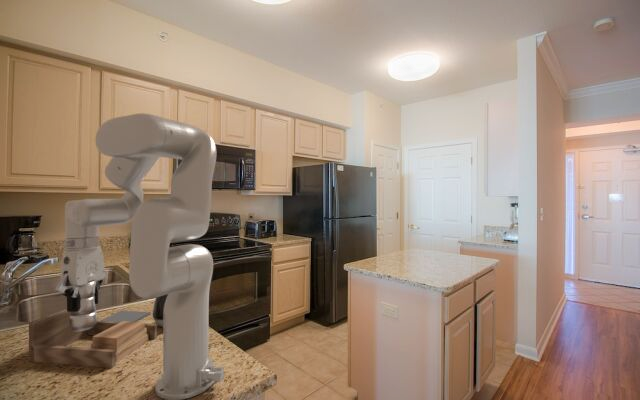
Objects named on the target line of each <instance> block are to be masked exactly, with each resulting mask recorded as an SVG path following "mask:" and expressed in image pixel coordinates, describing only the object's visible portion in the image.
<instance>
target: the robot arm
mask: <svg viewBox="0 0 640 400" xmlns="http://www.w3.org/2000/svg"><path fill="white" fill-rule="evenodd" d="M94 139H95V140H94V141H95V146H96V148H97V150H98V152H99V153H101V154H102V155H104V156H107V157H111V159H110V160H109V162H108V164H107V165H106V167H105V168H104V175H105V177H106V179H107V180H108V181H109V182H110V183H111V184H112V185H114V186H116V187H117V188H119V189H121V190H124V191H125V192H124V193H123V195H122V197H120V198H85V199H80V200H79V199H78V200H68V201H67V202H66V203H65V206H64V228H65V229H64V231H65V232H64V233H65V234H64V239H65V240H64V242H63V243H62V246H63V247H64V248H65V249H64V250H63V253H62V259H61V266H60V280H59V281H58V283H57V285H56V286H55V287H54V289H55V290H56V291H57V292H58V293H60V294H61V295H63V296H64V298H66V309H67V311H68V312H77V311H79V297H77V294H78V290H79V286H83V285H86V284H88V282H87V279H88V277H89V276H90V275H92V274H94V275H95V276H96V280H95V281H96V285H95V295H94V296H95V305H97V304H99V290H100V289H101V285H102V283H103V282H104V280H105V279H106V278H107V273H106V271H105V258H104V253H103V249H102V246H101V245H100V242H99V241H100V239H99V236H100V234H99V233H100V232H99V231H100V230H99V229H100V228H99V227H105V226H119V225H125V224H127V223H129V222H130V221H131V220H132V221H131V228H130V245H129V246H130V247H129V261H128V262H129V266H128V267H129V268H128V276H129V277H128V278H129V284H130V288H131V290H132V291H133V293H134V295H136V296H137V297H138V298H141V299H147V300H149V299H156V297H160V296H163V295H166V294H168V296H167V298H166V301H165V305H164V311H163V327H162V332H163V333H162V340H163V341H162V351H163V353H162V357H163V358H162V367H163V368H162V371H163V373H162V375H161V376H160V377H159V378H158V379H157V381H156V383H155V390H154V391H155V394H156V395H157V396H158V397H159V398H161V399H164V400H185V399H189V398H193V397H195V396H198V395H200V394H202V393H203V392H205V391H207V390H209V388H210V387H212V385H214V383H215V382H221V383H222V382H223V380H224V378H225V372H224V366H219V365H218V366H215V365H214V362H213V361H214V359H213V358H209V351H210V350H209V348H210V347H209V330H210V329H209V326H210V325H209V317H210V316H209V313H210V310H209V308H210V307H209V306H210V305H209V301H210V287H211V281H212V278H213V273H214V259H213V255H212V253H211V252H210V250H208V248H206V247H204V246H203V245H200V244H194V243H193V244H192V243H191V244H183V245H182V244H181V245H176V246H170V244H173V243H178V242H183V241H184V242H185V241H190V240H195V239H199V238H201V237H203V236H204V235H206V233H207V231H208V229H209V225H210V220H211V218H210V217H211V206H212V205H211V204H212V192H213V189H212V186H213V185H212V184H213V178H214V173H215V167H216V163H217V152H218V151H217V146H216V143H215V141H214V139H213V137H212V136H211V135H210V134H209V133H208V132H206V131H205V130H203V129H202V128H200V127H197V126H194V125H191V124H188V123H185V122H181V121H177V120H172V119H169V118H166V117H162V116H158V115H154V114H150V113H144V112H143V113H134V114H129V115H122V116H118V117H113V118H109V119H107V120H106V121H105V122H103V123H102V124H101V125H100V126H99V128H98V129H97V131H96V134H95V138H94ZM159 158H167V159H177V160H181V162H180V164H178V166H177V167H176V169H175V171H174V172H173V174H172V176H171V182H170V195H169V197H153V198H149V199H146V200H144V189H143V185H142V182H143V181H144V179H145V178H146V176H147V175H148V173H149V172H150V171H151V170H152V169H153V167H154V165H155V164H156V163H157V161H158V160H159ZM71 288H73V292H72V291H71Z"/></svg>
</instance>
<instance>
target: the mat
mask: <svg viewBox="0 0 640 400" xmlns="http://www.w3.org/2000/svg"><path fill="white" fill-rule="evenodd" d="M151 314H152V312H150V311H139V310H138V311H135V310H119V311H117V312H115V313H112V314H110V315H108V316H107V317H105V318H102V319H100V320H99V321H108V322H122V321H131V322H139V321H140V320H142V319H144V318H146V317H147V316H149V315H151Z"/></svg>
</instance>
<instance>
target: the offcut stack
mask: <svg viewBox="0 0 640 400" xmlns="http://www.w3.org/2000/svg"><path fill="white" fill-rule="evenodd" d="M145 324H146V323H145V322H144V321H137V322H131V321H122V322H120V323H118V324H116V325H115V326H113V327H111V328H109V329H107V330H105V331H103V332H101V333H99V334H97V335H92V343H90V348H95V349H109V350H115V363H118V362H119V361H121V360H122V359H124V358H125V357H127V356H128V355H130V354H131V353H133V352H134V351H135V350H137V349H139V348H140V347H142V346H143V345H145V344H146V343H147V342H149V339H148V334H147V328H145Z"/></svg>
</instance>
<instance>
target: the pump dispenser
mask: <svg viewBox="0 0 640 400" xmlns="http://www.w3.org/2000/svg"><path fill="white" fill-rule="evenodd" d="M167 296H168V294H166V295H163V296H160V297H156V298H154V299H155V300H154V303H153V307H152V308H153V309H152V318H153V321H154V322H155V323H154V324H157V327H160V328H163V311H164V305H165V301H166V298H167Z"/></svg>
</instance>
